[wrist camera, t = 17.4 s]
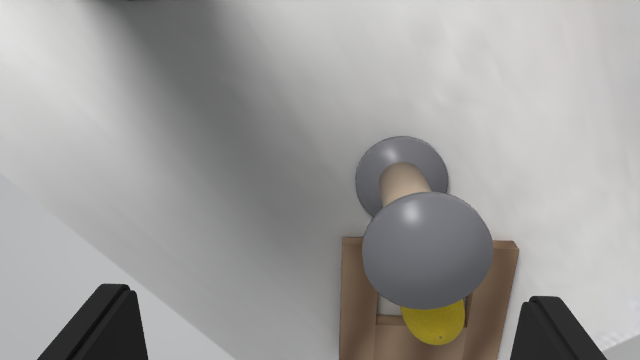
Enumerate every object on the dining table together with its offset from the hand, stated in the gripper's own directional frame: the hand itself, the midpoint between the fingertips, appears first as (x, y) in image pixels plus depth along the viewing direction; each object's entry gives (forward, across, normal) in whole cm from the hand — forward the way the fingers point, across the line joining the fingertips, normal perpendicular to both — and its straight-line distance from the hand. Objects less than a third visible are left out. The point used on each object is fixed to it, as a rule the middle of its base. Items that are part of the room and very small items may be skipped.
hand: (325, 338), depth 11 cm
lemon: (+28, -9, +18) cm, 35 cm away
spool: (+28, -6, +7) cm, 30 cm away
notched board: (+28, -9, +20) cm, 36 cm away
